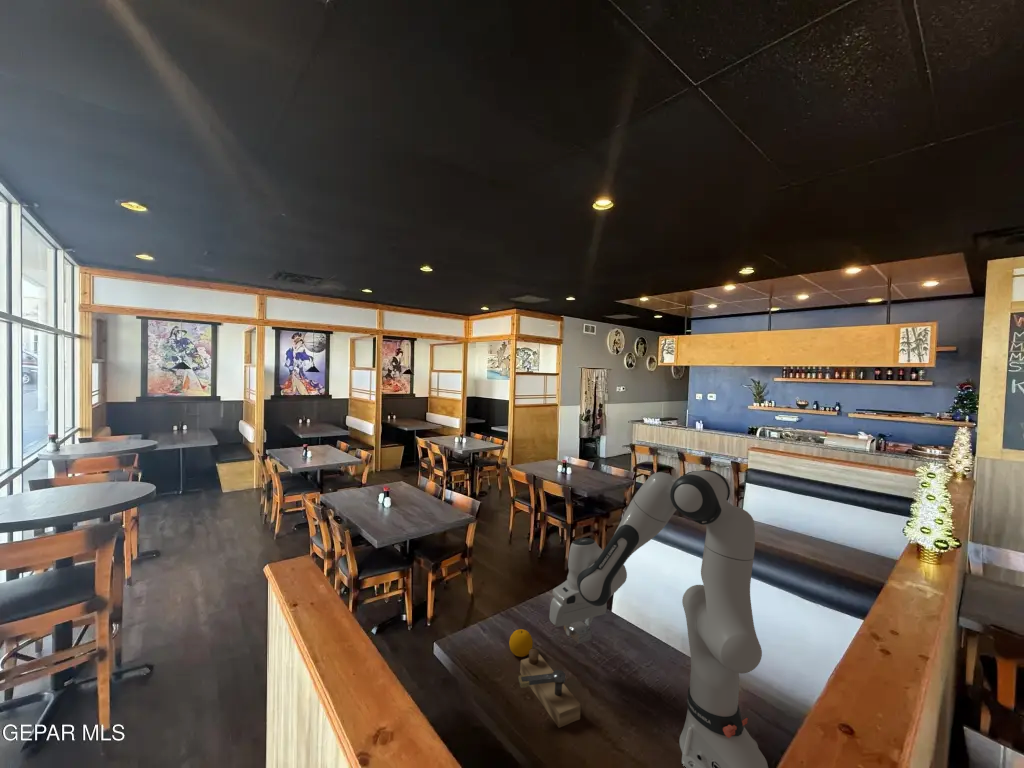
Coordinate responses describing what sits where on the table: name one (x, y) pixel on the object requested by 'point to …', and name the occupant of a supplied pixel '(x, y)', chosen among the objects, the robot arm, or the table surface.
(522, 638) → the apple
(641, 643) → the table surface
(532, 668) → the plane body
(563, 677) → the lever
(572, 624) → the lever cap
